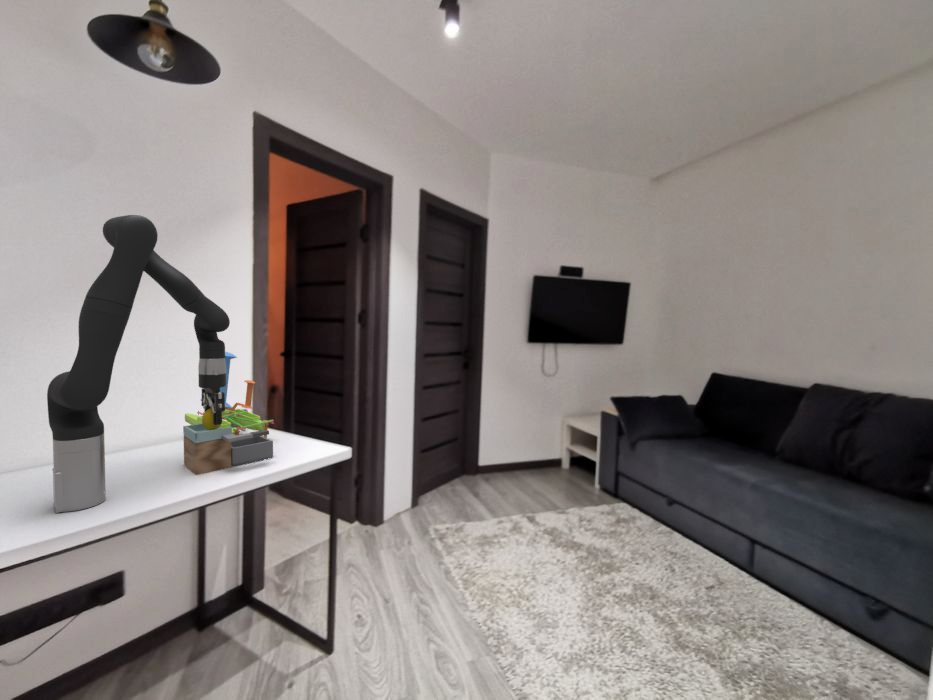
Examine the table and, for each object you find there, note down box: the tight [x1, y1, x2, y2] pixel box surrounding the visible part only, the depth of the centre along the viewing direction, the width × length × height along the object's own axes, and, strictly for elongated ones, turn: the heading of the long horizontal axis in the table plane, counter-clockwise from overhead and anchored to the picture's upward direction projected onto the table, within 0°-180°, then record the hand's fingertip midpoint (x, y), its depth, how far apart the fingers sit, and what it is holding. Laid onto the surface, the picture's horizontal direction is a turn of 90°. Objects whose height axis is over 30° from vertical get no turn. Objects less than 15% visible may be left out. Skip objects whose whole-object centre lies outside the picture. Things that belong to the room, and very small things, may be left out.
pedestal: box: [183, 435, 232, 476], centre depth 129 cm, size 10×13×10 cm
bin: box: [231, 435, 274, 468], centre depth 138 cm, size 13×13×6 cm
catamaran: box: [184, 351, 275, 438], centre depth 157 cm, size 18×32×35 cm, turn 68°
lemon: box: [202, 408, 221, 430], centre depth 130 cm, size 6×6×8 cm
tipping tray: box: [183, 423, 270, 443], centre depth 130 cm, size 19×19×3 cm
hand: (213, 422), depth 130 cm, fingers open, 8 cm apart
